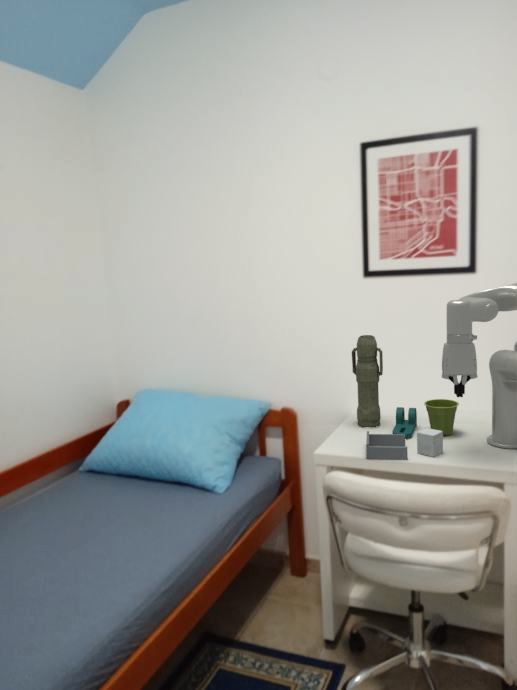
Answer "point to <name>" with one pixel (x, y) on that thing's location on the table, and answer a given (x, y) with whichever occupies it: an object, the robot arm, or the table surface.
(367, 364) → the thermos
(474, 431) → the table surface
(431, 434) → the product box
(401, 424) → the bracket
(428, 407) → the plant pot
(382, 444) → the box
